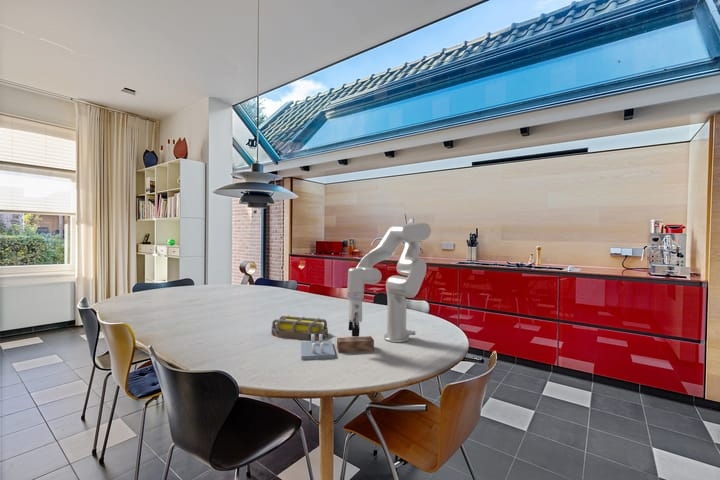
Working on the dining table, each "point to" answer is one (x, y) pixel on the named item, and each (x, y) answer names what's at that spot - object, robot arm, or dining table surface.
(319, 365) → the dining table surface
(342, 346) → the brick
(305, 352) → the peg stand
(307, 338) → the cage light
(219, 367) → the dining table surface
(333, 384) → the dining table surface
